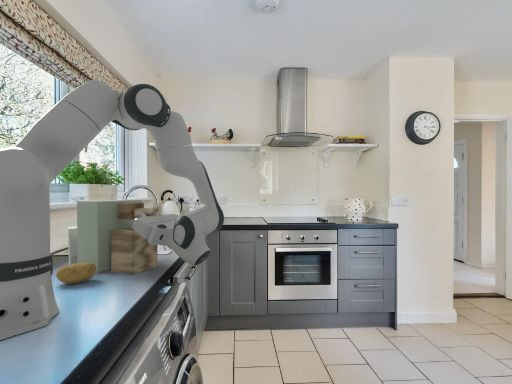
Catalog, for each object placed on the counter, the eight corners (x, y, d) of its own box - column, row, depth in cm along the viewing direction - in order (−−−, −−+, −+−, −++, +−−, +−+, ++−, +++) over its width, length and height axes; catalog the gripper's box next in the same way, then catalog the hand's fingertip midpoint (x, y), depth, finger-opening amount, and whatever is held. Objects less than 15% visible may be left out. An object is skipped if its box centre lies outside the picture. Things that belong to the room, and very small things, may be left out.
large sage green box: (97, 272, 103) (97, 201, 103) (77, 269, 108) (76, 201, 108) (141, 260, 121) (141, 199, 121) (122, 258, 126) (122, 199, 126)
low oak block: (132, 274, 101) (131, 232, 101) (111, 270, 106) (111, 230, 106) (157, 266, 112) (157, 228, 112) (137, 263, 116) (137, 226, 116)
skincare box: (91, 261, 120) (91, 224, 120) (93, 264, 115) (93, 226, 115) (67, 264, 115) (67, 226, 115) (69, 268, 110) (68, 228, 110)
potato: (95, 283, 91) (95, 263, 91) (53, 288, 87) (53, 267, 87) (97, 277, 97) (97, 259, 97) (58, 282, 93) (58, 262, 93)
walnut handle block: (148, 220, 101) (148, 203, 101) (118, 218, 108) (118, 203, 108) (161, 218, 107) (161, 202, 107) (131, 217, 114) (131, 202, 114)
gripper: (193, 222, 109) (169, 204, 114) (153, 229, 91) (126, 207, 96) (187, 235, 111) (164, 217, 116) (146, 245, 92) (120, 222, 98)
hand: (146, 212), depth 106 cm, fingers closed on walnut handle block, 3 cm apart
